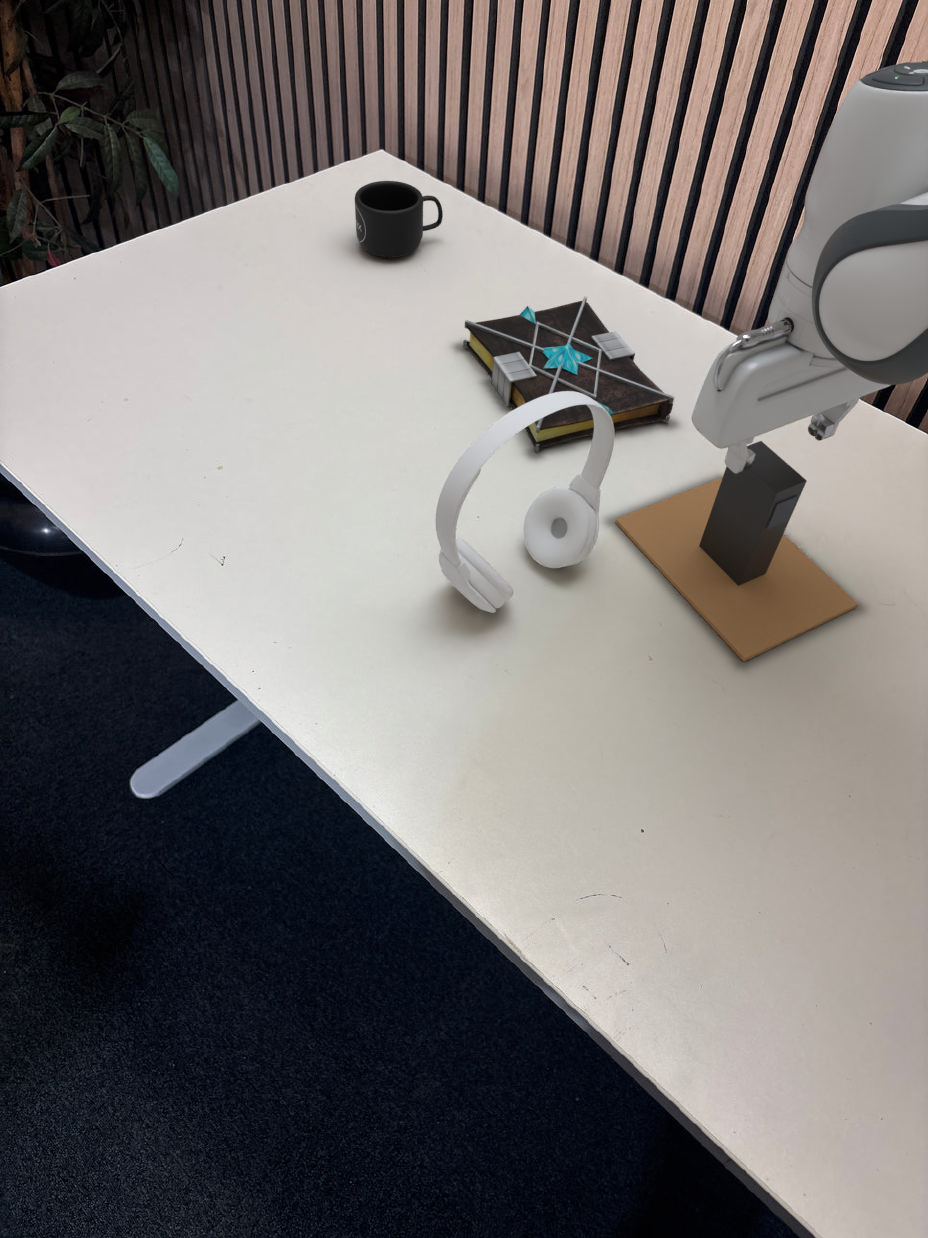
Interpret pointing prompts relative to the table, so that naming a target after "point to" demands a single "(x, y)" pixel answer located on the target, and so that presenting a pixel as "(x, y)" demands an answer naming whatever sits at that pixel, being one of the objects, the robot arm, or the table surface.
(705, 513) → the mat
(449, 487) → the headphones
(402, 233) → the mug
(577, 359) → the book
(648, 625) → the table surface
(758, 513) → the device
